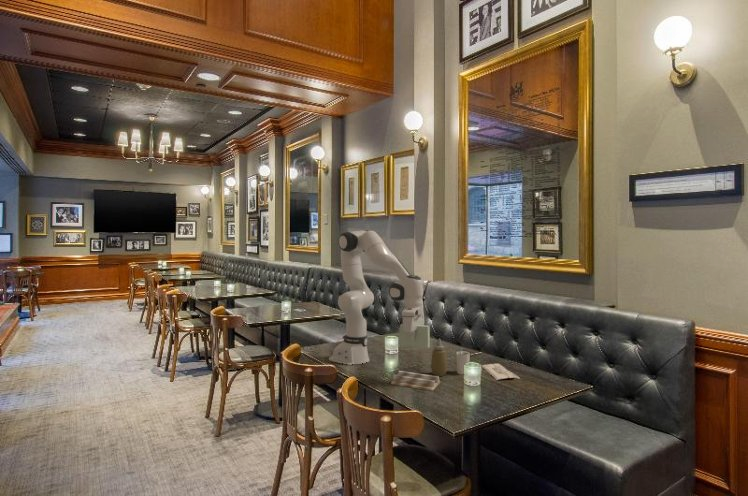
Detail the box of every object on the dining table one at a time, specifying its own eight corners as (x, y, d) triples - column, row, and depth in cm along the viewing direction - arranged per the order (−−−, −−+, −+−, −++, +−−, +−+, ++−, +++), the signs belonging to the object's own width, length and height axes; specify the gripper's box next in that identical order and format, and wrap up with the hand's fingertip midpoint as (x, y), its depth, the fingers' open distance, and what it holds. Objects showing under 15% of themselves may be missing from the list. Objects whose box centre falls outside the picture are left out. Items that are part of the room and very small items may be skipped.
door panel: (400, 345, 212) (399, 324, 212) (402, 344, 215) (401, 323, 215) (427, 348, 206) (427, 326, 206) (429, 346, 209) (429, 325, 209)
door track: (391, 384, 206) (391, 376, 206) (400, 376, 217) (400, 369, 217) (432, 390, 197) (432, 383, 197) (440, 382, 208) (440, 375, 208)
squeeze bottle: (449, 373, 221) (449, 338, 221) (443, 378, 214) (443, 341, 214) (434, 371, 225) (434, 336, 225) (428, 375, 218) (428, 339, 218)
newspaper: (521, 381, 213) (521, 376, 212) (497, 384, 211) (496, 379, 211) (503, 366, 235) (502, 361, 235) (481, 369, 234) (480, 364, 234)
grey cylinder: (463, 375, 218) (463, 355, 218) (453, 372, 224) (453, 352, 223) (472, 373, 222) (472, 353, 222) (462, 369, 227) (462, 350, 227)
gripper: (415, 306, 221) (415, 333, 221) (400, 312, 202) (400, 342, 203) (427, 306, 218) (427, 334, 219) (413, 313, 200) (413, 343, 200)
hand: (414, 338), depth 211 cm, fingers closed on door panel, 3 cm apart
